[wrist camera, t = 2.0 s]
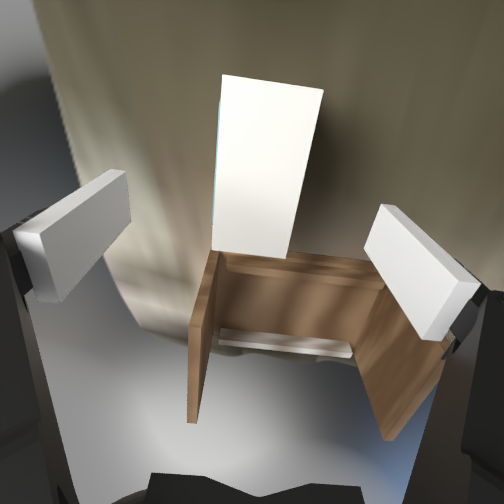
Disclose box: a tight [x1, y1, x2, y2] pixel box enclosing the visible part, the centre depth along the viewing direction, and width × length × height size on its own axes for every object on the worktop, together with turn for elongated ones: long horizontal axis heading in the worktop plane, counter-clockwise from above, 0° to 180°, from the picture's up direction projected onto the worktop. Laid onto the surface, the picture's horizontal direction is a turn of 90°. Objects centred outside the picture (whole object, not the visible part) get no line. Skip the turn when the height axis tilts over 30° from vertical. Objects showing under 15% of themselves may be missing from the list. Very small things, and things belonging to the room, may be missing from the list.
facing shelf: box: [187, 246, 450, 441], centre depth 32 cm, size 22×14×14 cm, turn 83°
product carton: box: [212, 75, 323, 259], centre depth 24 cm, size 12×6×10 cm, turn 173°
